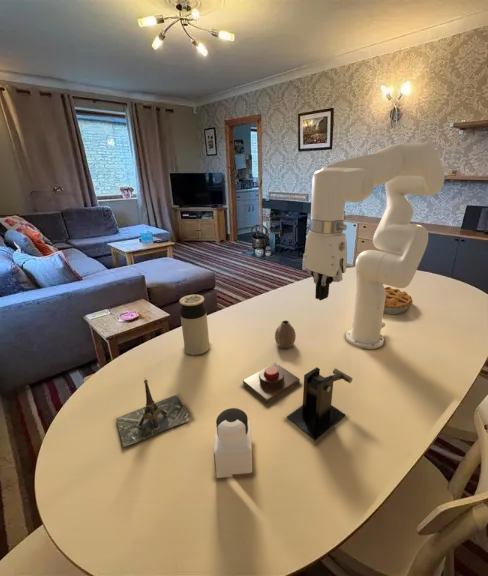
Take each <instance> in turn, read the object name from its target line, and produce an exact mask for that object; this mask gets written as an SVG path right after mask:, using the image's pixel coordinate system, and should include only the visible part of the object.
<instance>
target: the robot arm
mask: <svg viewBox="0 0 488 576" xmlns="http://www.w3.org/2000/svg"><path fill="white" fill-rule="evenodd" d="M445 176H446V174H445V169H444V166H443V164H442V160H441V158H440V155H439V153H438V152H437V149H436V148H435V146H433V145H432V144H431V143H429V142H401V143H394V144H390V145H388V146H386V147H384V148H381V149H379V150H377V151H375V152H373V153H367V154H363V155H359V156H355V157H351V158H347V159H342V160H339V161H335V162H332V163H330V164H328V165H325V166H323V167H322V168H320V169H318V170H316V171H314V173H313V174H312V179H311V181H312V182H311V201H310V222H309V224H310V225H309V230H308V232H307V234H306V235H307V236H306V241H305V247H304V257H303V259H304V260H303V262H304V263H303V264H304V267H305V271H306V272H307V274H309V275H311V278H312V279H313V284H315V294H314V295H315V297H314V298H315V299H316V300H318V301H323V300H325V299H328V297H329V294H330V285H331V284H332V283H333V282H334V283H340V282H342V281H343V274H344V273H345V274H346V271H347V267H348V266H347V265H348V243H347V235H346V233H344V231H346V230H347V228H348V226H347V224H345V223H344V222H345V220H344V219H345V208H346V203H347V202H348V203H360V202H363V201H365V200H366V199H367V198H369V197H370V196H371V194H372V192H373V190H374V187H375V188H376V187H381V186H383V185H384V188H385V198H386V207H385V210H384V211H383V215H382V217H381V219H380V220H379V223H378V224H377V227H376V230H375V231H374V234H373V236H372V237H373V238H372V245H373V246H374V247H375V248H376V249H377V250H376V249H375V250H374V249H367V250H363V251H361V252H360V253H359V254H358V255H357V257H356V259H355V266H354V269H355V280H356V282H355V294H354V302H353V312H352V319H351V320H352V321H351V322H352V323H351V328H350V329H348V330H347V331H346V334H345V338H346V340H347V342H349V344H351V345H352V346H354V347H357V348H360V349H363V350H364V349H365V350H375V349H378V348H381V347H382V346H383V345H384V343H385V338H384V335H382V334H381V330H382V329H384V328H385V327H386V323H385V322H384V321H383V317H384V313H383V312H384V305H385V299H386V292H385V288H384V287H385V285H386V286H388V287H391V288H395V289H405V288H407V287H409V285H410V284H411V283H412V281H413V279H414V277H415V275H416V273H417V270H418V267H419V266H420V263H421V261H422V259H423V256H424V254H425V252H426V249H427V247H428V243H429V231H428V229H427V228H426V227H425V226H423V225H420V224H416V223H411V220H412V218H413V216H414V209H413V206H412V204H411V202H410V201H409V199H408V198H407V195H413V196H414V195H416V196H434V195H437V194H438V193H439V192H440V191H441V190H442V188H443V186H444V184H445V179H446V178H445Z"/></svg>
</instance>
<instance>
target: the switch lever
mask: <svg viewBox="0 0 488 576" xmlns="http://www.w3.org/2000/svg"><path fill="white" fill-rule="evenodd" d="M329 376H330V375H329ZM329 376H323V375H321V374H319V375H317V376H313V377H312V380H311V384H310V386H311V387H312V388H314V389H315V390H317V388H318V384H319V383H320V382H321V381H323V380H324V379H326V378H327V377H329ZM331 376H332V377H334V381H333V383H334V382H336V381H340V380H343V381H345V382H347V383H348V384H351V383H352V381H353V377H351V376H349V375H348V374H346V373H345V372H343V371H341V370H339V369H338V368H333V370H332V375H331Z"/></svg>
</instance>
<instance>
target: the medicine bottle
mask: <svg viewBox="0 0 488 576" xmlns="http://www.w3.org/2000/svg"><path fill="white" fill-rule="evenodd" d="M215 425H216V426H215V435H214V444H213V459H214V460H213V461H214V470H215V477H216V478H217V479H221V478H222V479H224V478H233V477H234V476H233V475H241V474H251V473H252V472H253V451H252V450H253V446H252V444H253V442H252V423H251V421H249V418H248V415H247V413H246V412H245V411H244V410H242V409H240V408H237V407H236V408H235V407H231V408H227V409H224V410H223V411H222V412H220V413H219V414H218V415H217V417H216V419H215Z"/></svg>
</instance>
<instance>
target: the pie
mask: <svg viewBox="0 0 488 576" xmlns="http://www.w3.org/2000/svg"><path fill="white" fill-rule="evenodd" d="M384 288H385V292H386V299H385V305H384V312H383V314H385V315H398V314H402V313H404V312H406V310H408V308H409V307H410V306H412V305H413V298H412V296H411V295H409V294H408V292H406V291H402V290H400V288H393V287H392V286H386V287H385V286H384Z"/></svg>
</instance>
